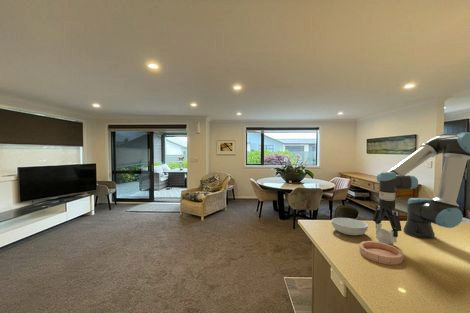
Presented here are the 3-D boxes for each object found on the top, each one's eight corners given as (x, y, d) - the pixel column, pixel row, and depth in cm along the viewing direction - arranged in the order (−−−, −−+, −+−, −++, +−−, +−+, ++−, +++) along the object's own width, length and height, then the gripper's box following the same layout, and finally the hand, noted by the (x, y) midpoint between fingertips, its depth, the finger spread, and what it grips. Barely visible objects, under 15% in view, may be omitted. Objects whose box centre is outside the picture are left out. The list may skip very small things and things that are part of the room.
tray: (381, 246, 119) (382, 240, 119) (412, 263, 101) (412, 256, 101) (351, 248, 117) (351, 241, 117) (377, 265, 99) (377, 258, 99)
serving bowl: (368, 231, 142) (368, 220, 142) (367, 242, 125) (367, 230, 124) (333, 225, 153) (333, 215, 153) (328, 234, 136) (328, 223, 136)
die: (396, 250, 116) (401, 233, 119) (380, 240, 118) (386, 224, 120) (385, 249, 124) (391, 233, 127) (370, 240, 126) (376, 225, 129)
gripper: (366, 195, 132) (365, 231, 133) (398, 204, 110) (397, 247, 111) (377, 195, 133) (376, 230, 134) (411, 204, 111) (410, 246, 112)
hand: (385, 238), depth 122 cm, fingers closed on die, 10 cm apart
